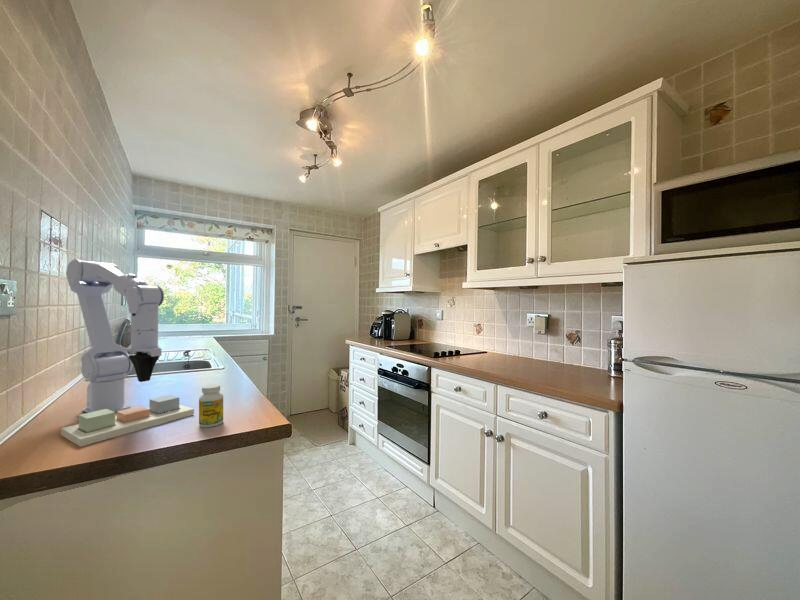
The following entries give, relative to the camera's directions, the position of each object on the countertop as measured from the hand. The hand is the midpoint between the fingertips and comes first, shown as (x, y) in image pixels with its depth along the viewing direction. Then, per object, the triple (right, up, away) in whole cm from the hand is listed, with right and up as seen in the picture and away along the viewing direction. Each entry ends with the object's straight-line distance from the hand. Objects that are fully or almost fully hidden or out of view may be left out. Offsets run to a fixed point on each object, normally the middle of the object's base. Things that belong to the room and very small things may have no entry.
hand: (144, 380), depth 86 cm
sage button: (-3, -8, -11) cm, 14 cm away
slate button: (+4, -8, +2) cm, 9 cm away
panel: (+1, -10, -5) cm, 11 cm away
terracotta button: (+1, -9, -5) cm, 10 cm away
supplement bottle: (+21, -10, -4) cm, 23 cm away
